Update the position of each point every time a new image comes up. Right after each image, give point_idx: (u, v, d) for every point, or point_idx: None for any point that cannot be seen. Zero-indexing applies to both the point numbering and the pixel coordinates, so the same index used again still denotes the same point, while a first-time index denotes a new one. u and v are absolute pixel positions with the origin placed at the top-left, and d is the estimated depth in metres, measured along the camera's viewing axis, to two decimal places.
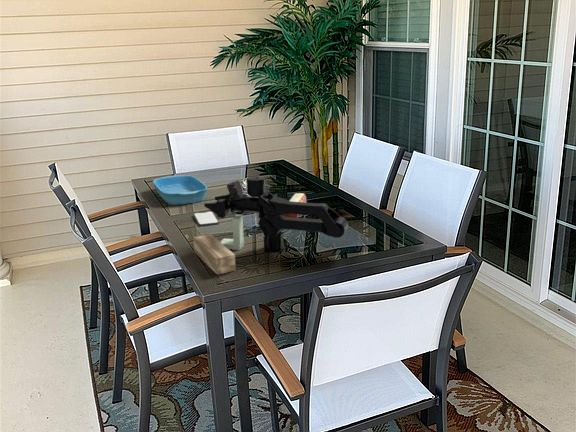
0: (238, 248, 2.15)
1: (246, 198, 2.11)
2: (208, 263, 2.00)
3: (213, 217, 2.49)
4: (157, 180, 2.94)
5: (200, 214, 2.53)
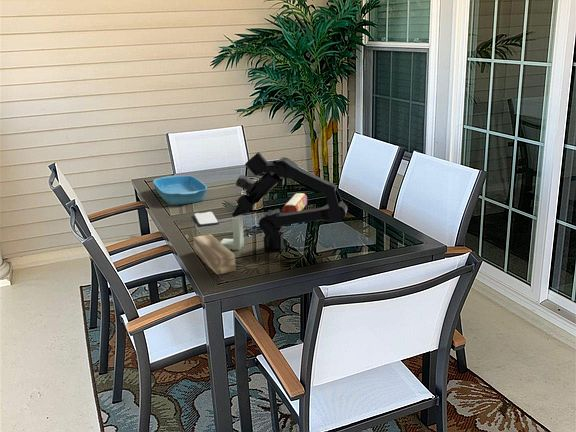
0: (238, 248, 2.15)
1: (258, 180, 2.07)
2: (208, 263, 2.00)
3: (213, 217, 2.49)
4: (157, 180, 2.94)
5: (200, 214, 2.53)
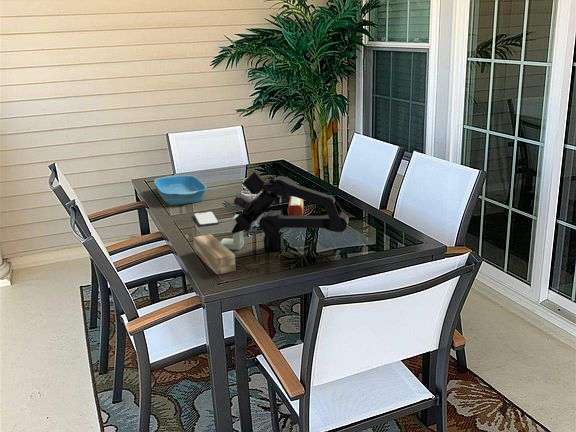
0: (238, 248, 2.15)
1: (256, 199, 2.09)
2: (208, 263, 2.00)
3: (213, 217, 2.49)
4: (158, 180, 2.94)
5: (200, 214, 2.53)
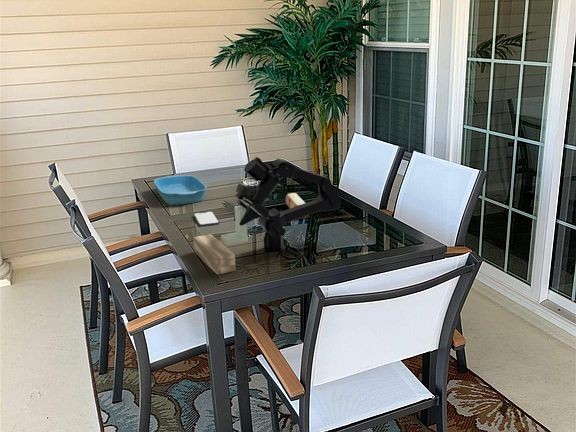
0: (246, 240, 2.06)
1: (260, 185, 2.04)
2: (208, 263, 2.00)
3: (213, 217, 2.49)
4: (158, 180, 2.94)
5: (200, 214, 2.53)
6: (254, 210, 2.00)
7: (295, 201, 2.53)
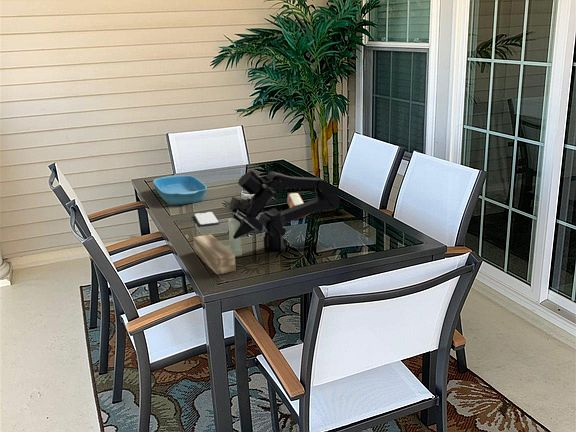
0: (240, 253, 2.06)
1: (254, 198, 2.05)
2: (208, 263, 2.00)
3: (213, 217, 2.49)
4: (157, 180, 2.94)
5: (200, 214, 2.53)
6: (248, 223, 2.00)
7: (294, 201, 2.53)
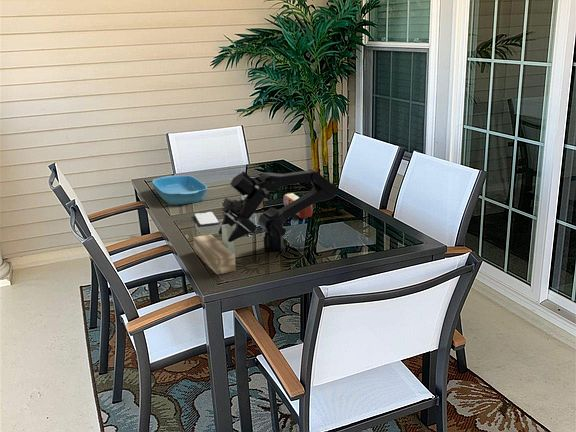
0: None
1: (247, 199, 2.03)
2: (208, 263, 2.00)
3: (213, 217, 2.49)
4: (156, 180, 2.94)
5: (200, 214, 2.53)
6: (243, 226, 1.98)
7: None
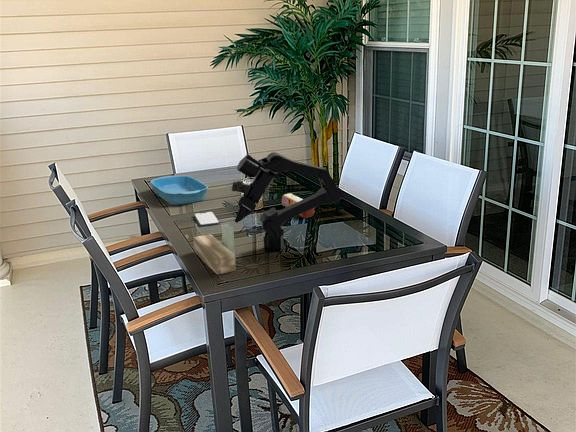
0: None
1: (253, 181, 2.05)
2: (208, 263, 2.00)
3: (214, 217, 2.49)
4: (154, 181, 2.93)
5: (200, 214, 2.53)
6: (243, 205, 2.00)
7: (298, 201, 2.53)
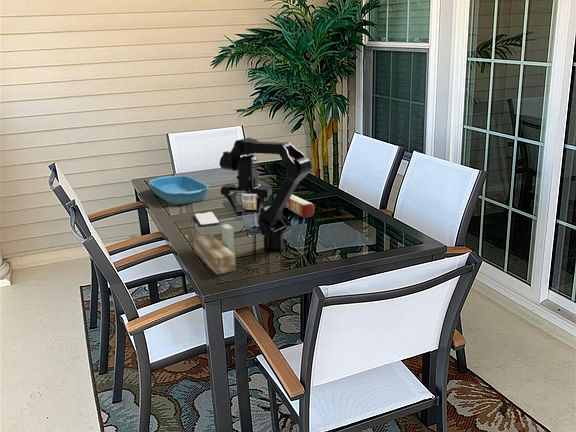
0: None
1: None
2: (208, 263, 2.00)
3: (214, 217, 2.49)
4: (152, 181, 2.92)
5: (200, 214, 2.53)
6: None
7: (298, 201, 2.53)
